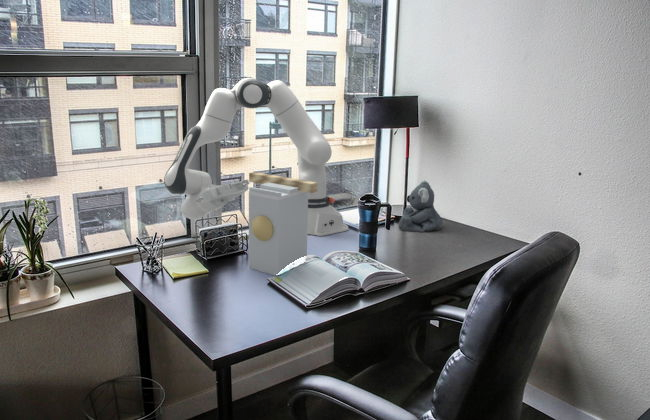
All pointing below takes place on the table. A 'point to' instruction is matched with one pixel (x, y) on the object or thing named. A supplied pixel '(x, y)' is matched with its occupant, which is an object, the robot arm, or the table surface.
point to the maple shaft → (283, 181)
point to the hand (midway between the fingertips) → (238, 183)
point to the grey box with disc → (276, 226)
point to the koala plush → (421, 211)
